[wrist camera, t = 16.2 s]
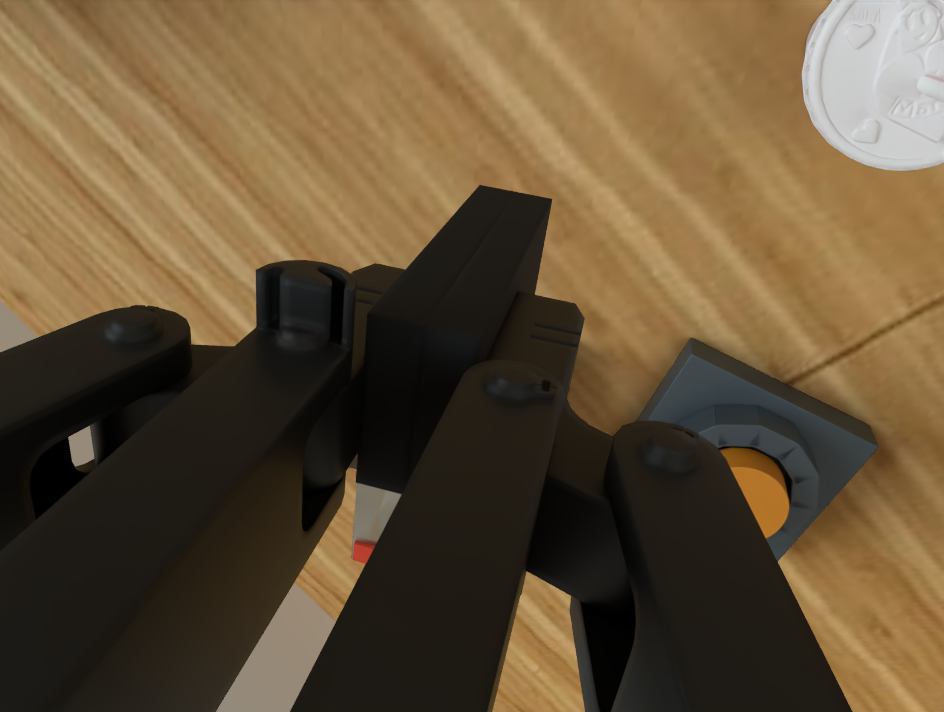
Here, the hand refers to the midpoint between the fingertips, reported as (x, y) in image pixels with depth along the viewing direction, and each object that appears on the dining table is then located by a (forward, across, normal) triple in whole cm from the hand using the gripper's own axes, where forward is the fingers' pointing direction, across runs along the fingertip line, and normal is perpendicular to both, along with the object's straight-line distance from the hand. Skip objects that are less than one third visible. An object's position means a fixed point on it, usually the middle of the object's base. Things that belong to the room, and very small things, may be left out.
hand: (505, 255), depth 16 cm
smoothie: (+22, +10, +4) cm, 24 cm away
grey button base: (+21, +11, -16) cm, 28 cm away
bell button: (+17, +11, -16) cm, 26 cm away
